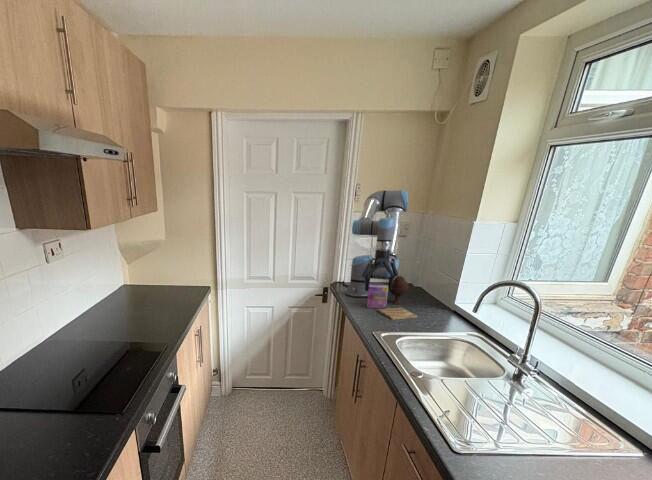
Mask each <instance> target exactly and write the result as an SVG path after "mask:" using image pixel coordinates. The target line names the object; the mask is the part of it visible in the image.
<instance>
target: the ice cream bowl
mask: <svg viewBox="0 0 652 480" xmlns="http://www.w3.org/2000/svg"><path fill="white" fill-rule="evenodd" d="M409 288H410V286H409V283H408V282H407V280H406V278H405V277H404V276H402V275H398V276H396V277H395V278H394V283H392V289H391V290H390V289H388V292H389V293H390V294H392V295H393V296H394V297H395V299H394V300H392V301H391V304H393V305H402V301H401V300H399V299H400V297H401V296H403V295H405V294H406V293H407V292H408V290H409Z"/></svg>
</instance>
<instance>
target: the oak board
mask: <svg viewBox="0 0 652 480" xmlns="http://www.w3.org/2000/svg"><path fill="white" fill-rule="evenodd" d="M377 312H379V313H380V314H382V315H384V316H385V317H387V318H389V319H390V320H392V321H394V320H407V319H408V320H409V319H418V317H419V316H418V315H417V314H414V313H413V312H411V311H409V310H407V309H405V308H404V307H392V308H386V309H385V308H377Z"/></svg>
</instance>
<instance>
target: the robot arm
mask: <svg viewBox="0 0 652 480" xmlns="http://www.w3.org/2000/svg"><path fill="white" fill-rule="evenodd" d="M408 202H409V192H408V191H407V190H401V189H399V190H378V191H376V192H373V193H371V194H370V195H369V196H368V197H366V199H365V201H364V203H363V210H362V212H361V214H360V216H359V219H356V220H353V221H352V227H351V234H352V235H355V236H376V243H375V252H374V257H373V255H372V254H364V255H358V256H354V257H353V258H352V261H351V265H350V266H351V268H350V269H351V270H350V279H349V280H350V281H349V284H346V283H345V281H344V280H342V283H341V284H342V285H343V286H345V287H347V288H346V293H345V294H346V296H348V297H352V298H368V290H369V284H370V285H371V279H375V280H386V281H387V280H388V290H389V289H390V290H391V289H392V283H394V279H395V278H396V277H398V276H399V273H398V269H399V265H400V259H398V256H397V254H396V250H397V244H398V239H399V232H400V225H401V220H402V217H403V216H404V215H405V213H406V212H408V209H409V207H408V206H409V205H408V204H409V203H408ZM378 212H383V213H384V216H385V217H380V218H379V219H378V220H374V219H375V216H376V214H377V213H378Z"/></svg>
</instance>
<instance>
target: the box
mask: <svg viewBox="0 0 652 480" xmlns="http://www.w3.org/2000/svg"><path fill="white" fill-rule="evenodd" d="M388 293H389V289H388V285H387V284H371V283H370V284H369V290H368V297H366V298H367V301H366V308H371V309H387V304H388V303H387V302H388Z"/></svg>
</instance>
